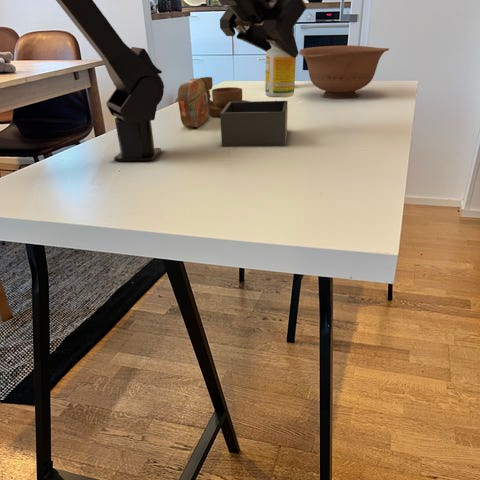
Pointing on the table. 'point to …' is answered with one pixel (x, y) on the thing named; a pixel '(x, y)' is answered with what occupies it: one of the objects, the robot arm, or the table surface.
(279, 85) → the supplement bottle
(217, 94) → the place setting
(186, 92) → the tin
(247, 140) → the bin
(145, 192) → the table surface
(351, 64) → the bowl
